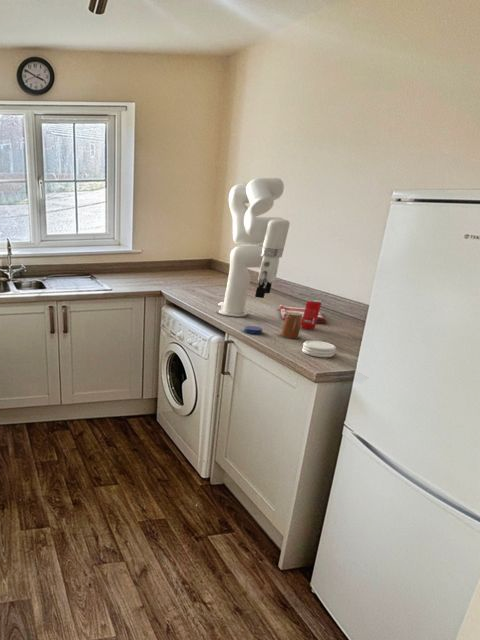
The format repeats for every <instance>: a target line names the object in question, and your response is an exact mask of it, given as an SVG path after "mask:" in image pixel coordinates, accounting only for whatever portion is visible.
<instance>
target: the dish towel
mask: <svg viewBox="0 0 480 640" xmlns="http://www.w3.org/2000/svg"><path fill="white" fill-rule="evenodd" d="M278 308H279V309H278V310H279V313H280V315H281V317H282V320H284V321H285V317H286V316H287V313H289V312H296V313H301V314H302V318H303V315H304V311H305V308H306V307H301V306H287V305H283V304H280V305H279V306H278ZM326 322H327V319H326V317H324V316H323V314H322V313H321V312H320V311H319V314H318V317H317V321H316V323H319V324H324V323H326Z"/></svg>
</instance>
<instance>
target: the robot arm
mask: <svg viewBox="0 0 480 640" xmlns="http://www.w3.org/2000/svg"><path fill="white" fill-rule="evenodd" d="M284 189H285V185H284V182H283V180H282V179H281V178H278V177H257V178H253V179H251V180H250V181H249V182H247V183H246V182H245V183H244V182H243V183H238V184H235V185H233V186H232V187H231V188H230V191H229V194H228V208H229V210H230V214H231V217H232V240H233V243H234V244H235V245H237V246H235V247H233V248H232V249H231V251H230V253H229V269H228V276H227V283H226V289H225V292H224V299H223V301H220V302H218V303H217V306H218V307H220V309H219V310H218V313H219V314H220V315H223V316H227V317H234V318H237V317H239V318H242V317H247V316H248V311H246V310H245V309H246V303H247V299H248V293H249V290H250V289H249V288H250V283H251V274H250V272H249V270H248V269H250V268H254V269H255V268H257V269H258V268H259V273H258V277H257V281H258V283H257V287H256V290H255V295H254V297H255V298H259V299H264V298H265V294H268V295H269V294H270V293H271V289H272V285H273V284H272V283H273V282H275V280H276V279H277V274H278V270H279V269H278V268H279V264H280V259H281V258H283V254H284V250H285V245H286V241H287V237H288V233H289V229H290V224H291V223H290V221H289V220H288V219H284V218H283V217H278V216H277V217H275V216H274V217H273V216H261V215H264V214H266V213H268V212H269V211H270V210H271V209H272V208H273V206H274V205H275V202H274V201H276V200H278V199H280V198H281V196H283V193H284ZM246 204H249V206H248V205H246Z"/></svg>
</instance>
